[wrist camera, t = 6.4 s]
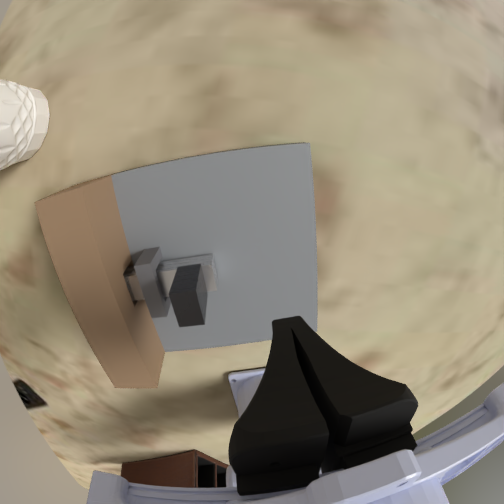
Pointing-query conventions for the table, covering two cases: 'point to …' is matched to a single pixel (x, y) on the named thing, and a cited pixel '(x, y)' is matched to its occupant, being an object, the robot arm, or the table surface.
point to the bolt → (181, 286)
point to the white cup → (21, 122)
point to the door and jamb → (186, 252)
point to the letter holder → (178, 471)
